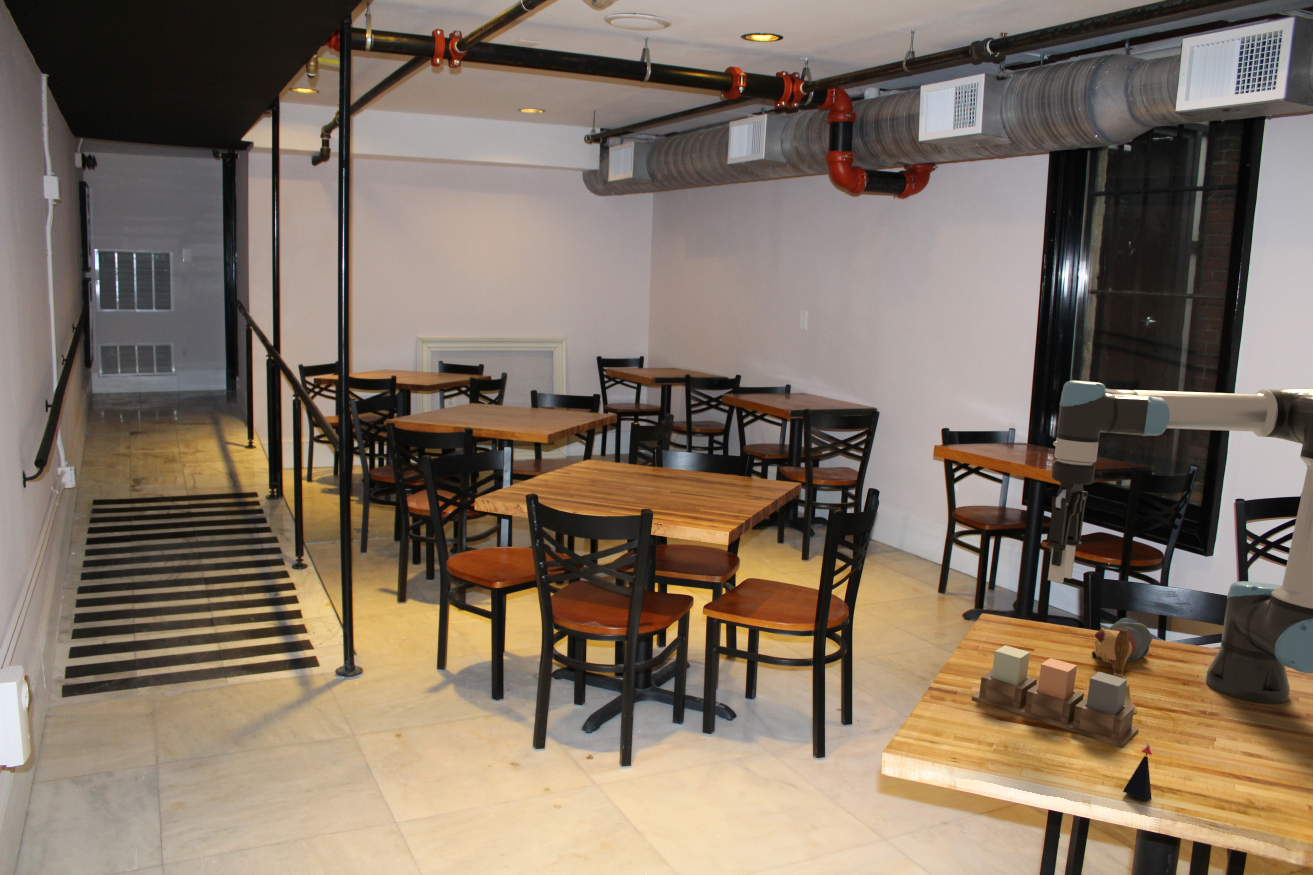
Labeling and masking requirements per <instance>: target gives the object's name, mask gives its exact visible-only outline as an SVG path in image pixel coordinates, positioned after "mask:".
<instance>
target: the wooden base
mask: <svg viewBox="0 0 1313 875" xmlns="http://www.w3.org/2000/svg"><path fill="white" fill-rule="evenodd" d="M992 672H993V669H992V670H991V671H989V672H986V674H983V675H982V676H981V678H980V685H979V691H978V692H977V693H975V694H974V695H972V696H971V700H972V701H973V700H974V701H978V702H979V703H983V704H986V705H989V706H992V707H995V708H999V709H1000V710H1001V709H1002V710H1005V711H1006V712H1007V711H1009V712H1011V713H1013V714H1017V715H1021V716H1022V717H1023V716H1024V717H1027V718H1029V719H1032V720H1034V721H1039V722H1041V723H1045V724H1048V725H1051V726H1054V727H1058V728H1059V729H1060V728H1061V729H1063V730H1067V731H1070V732H1072V733H1076V734H1078V735H1082V736H1085V737H1088V738H1091V739H1095V740H1097V741H1100V742H1104V743H1107V744H1110V745H1112V746H1116V747H1120V748H1123V747H1124V746H1125V745H1126V744H1128V742H1129V741H1130V740H1131V739H1132V738H1133V737H1134V736H1135V735H1136V734H1137V733H1138V732H1139V727H1136V726H1133V719H1134V715H1133V713H1134V707H1130V706H1127V705H1123V710H1122V711H1121V712H1120V713H1119V714H1118V715H1116V716H1115V715H1112V714H1109V713H1105V712H1102V711H1099V710H1096V709H1092V708H1089V707H1086V706H1087V698H1088V695H1087V696H1086V697H1085V692H1082V691H1080V690H1076V689H1074V693H1073V695H1072V696H1070V697H1069V698H1068V699H1067V700H1063V699H1060V698H1056V697H1053V696H1050V695H1046V694H1043V693H1040V692H1038V685H1039V682H1038V678H1035V677H1033V676H1029V675H1027V680H1026V681H1024V682H1023V683H1021V684H1020V685H1018V686H1017V685H1014V684H1010V683H1007V682H1004V681H1001V680H997V679H994V678H992Z"/></svg>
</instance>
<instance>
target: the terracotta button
mask: <svg viewBox="0 0 1313 875" xmlns="http://www.w3.org/2000/svg"><path fill="white" fill-rule="evenodd" d="M1077 668H1078V665H1076V664H1073V663H1070V662H1066V661H1063V660H1058V659H1054V658H1051V657H1050V658H1048V659H1046V660H1045V661H1044V662H1042V663H1041V664H1040V669H1039V670H1040V671H1039V678H1038V679H1039V680H1038V683H1039V685H1038V692H1040V693H1043V694H1046V695H1050V696H1053V697H1056V698H1060V699H1063V700H1067V699H1068V698H1069V697H1070V696H1072V695H1073V693H1074V690H1075V682H1076V676H1077Z"/></svg>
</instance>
